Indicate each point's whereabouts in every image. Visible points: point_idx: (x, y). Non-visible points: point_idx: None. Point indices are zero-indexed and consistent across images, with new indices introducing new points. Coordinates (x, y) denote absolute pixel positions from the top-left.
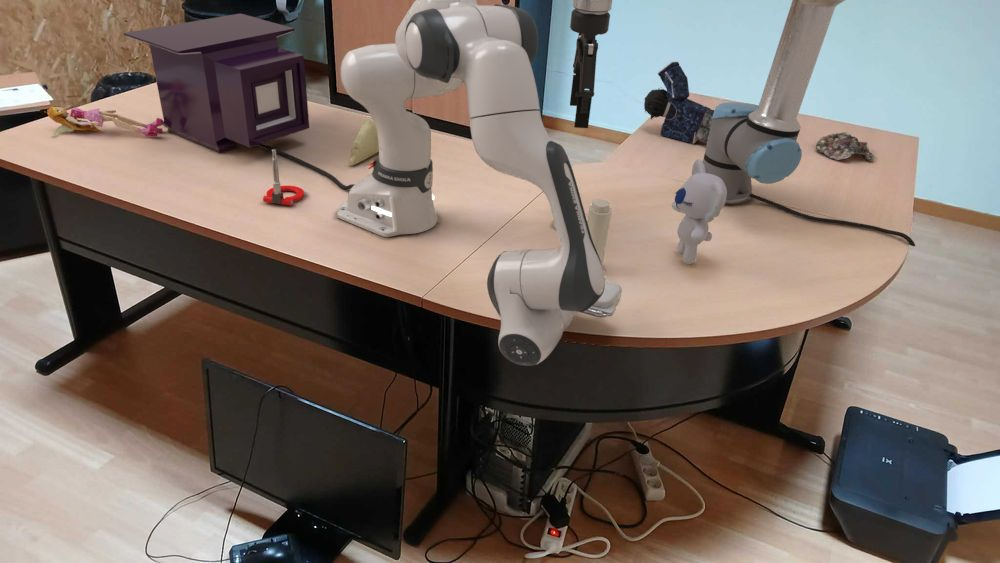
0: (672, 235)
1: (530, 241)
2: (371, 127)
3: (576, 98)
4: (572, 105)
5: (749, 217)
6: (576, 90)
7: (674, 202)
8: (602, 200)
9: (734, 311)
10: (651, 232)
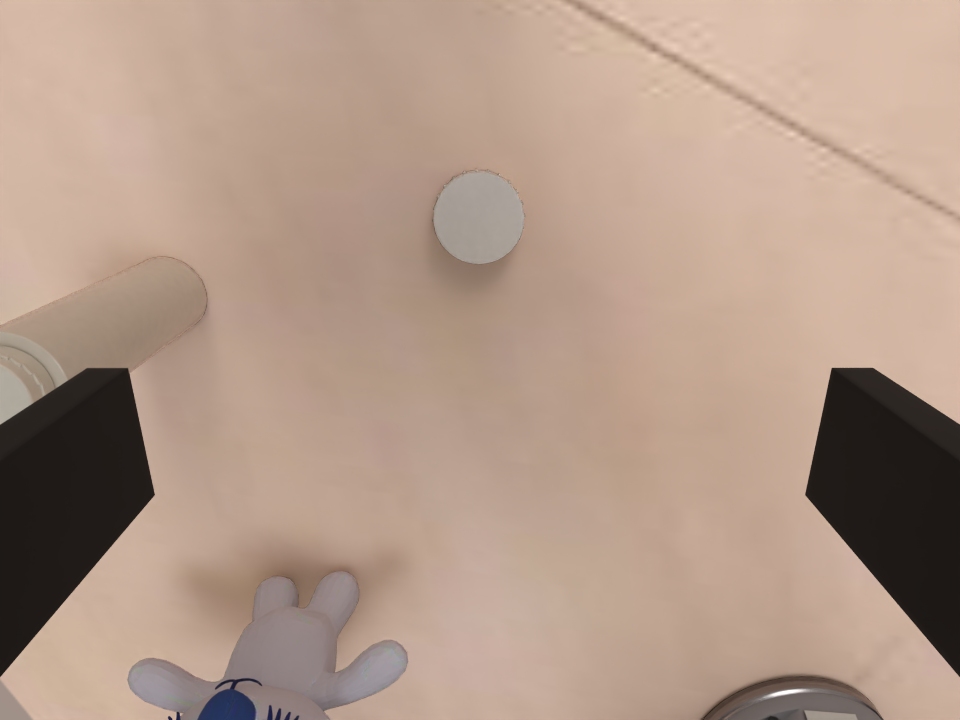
0: (461, 571)
1: (323, 62)
2: None
3: (865, 472)
4: (828, 395)
5: None
6: (939, 525)
7: (388, 661)
8: (16, 410)
9: (55, 643)
10: (473, 515)
